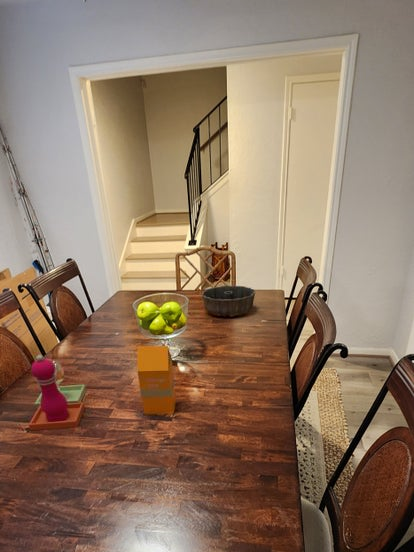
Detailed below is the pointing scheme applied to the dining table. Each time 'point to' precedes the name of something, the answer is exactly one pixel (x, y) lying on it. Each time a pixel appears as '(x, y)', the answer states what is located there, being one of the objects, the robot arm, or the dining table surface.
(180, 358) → the dining table surface
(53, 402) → the pepper mill
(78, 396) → the sage tray
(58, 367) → the wineglass
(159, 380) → the orange juice
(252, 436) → the dining table surface
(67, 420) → the terracotta tray
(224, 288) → the bundt pan
